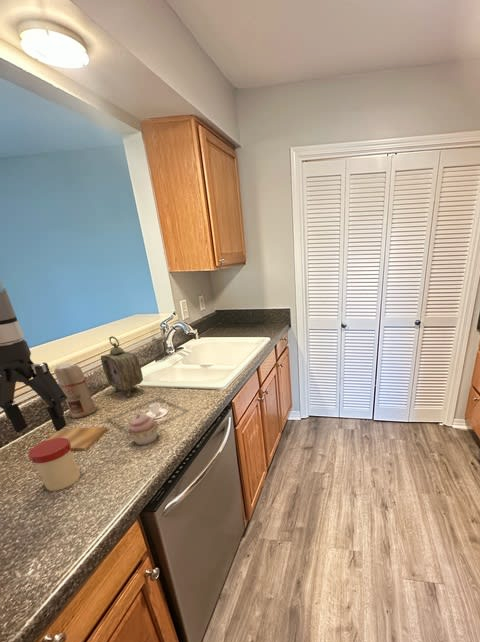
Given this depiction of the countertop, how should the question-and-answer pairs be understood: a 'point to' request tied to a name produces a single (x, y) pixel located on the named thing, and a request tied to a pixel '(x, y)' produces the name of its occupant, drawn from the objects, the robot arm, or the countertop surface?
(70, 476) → the jar
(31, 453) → the lid
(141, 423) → the cupcake
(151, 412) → the teacup and saucer
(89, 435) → the board
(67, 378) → the tan tall cylinder
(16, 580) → the countertop surface
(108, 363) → the tabletop clock
